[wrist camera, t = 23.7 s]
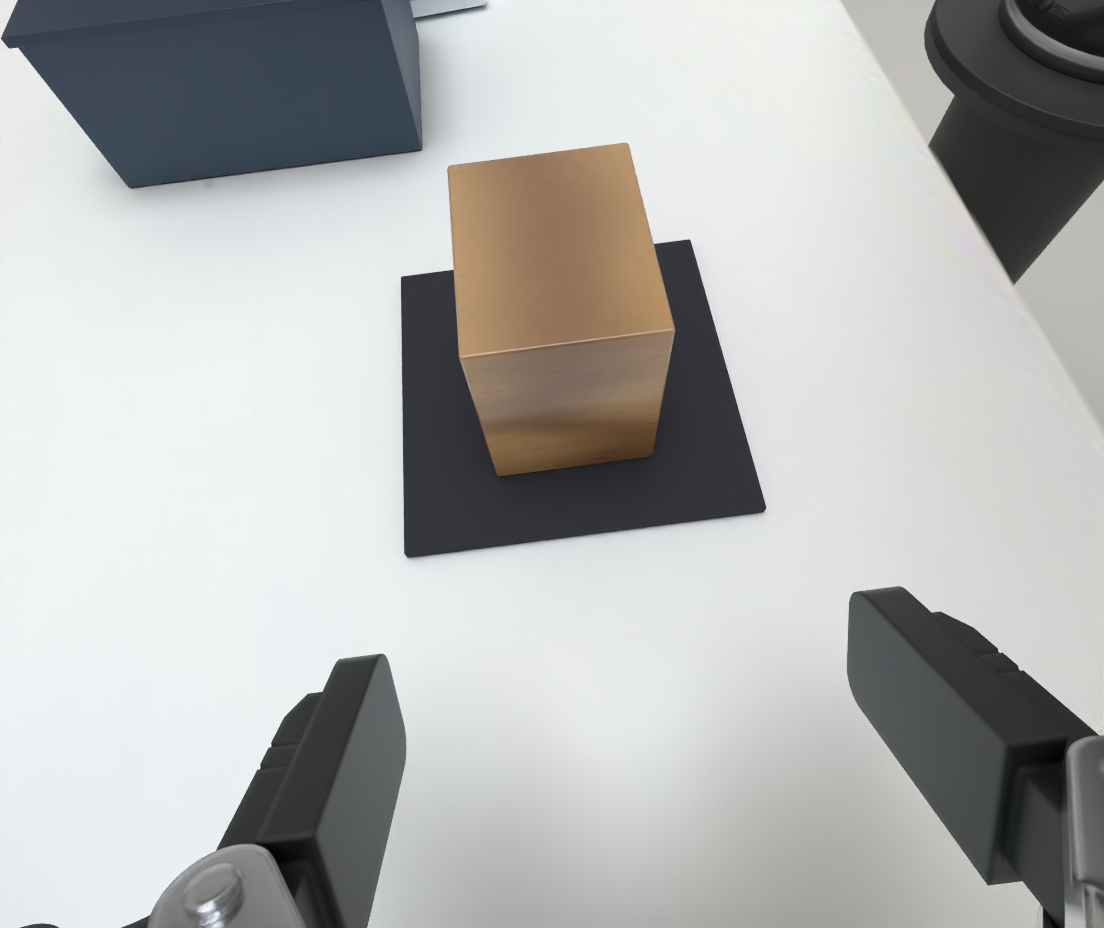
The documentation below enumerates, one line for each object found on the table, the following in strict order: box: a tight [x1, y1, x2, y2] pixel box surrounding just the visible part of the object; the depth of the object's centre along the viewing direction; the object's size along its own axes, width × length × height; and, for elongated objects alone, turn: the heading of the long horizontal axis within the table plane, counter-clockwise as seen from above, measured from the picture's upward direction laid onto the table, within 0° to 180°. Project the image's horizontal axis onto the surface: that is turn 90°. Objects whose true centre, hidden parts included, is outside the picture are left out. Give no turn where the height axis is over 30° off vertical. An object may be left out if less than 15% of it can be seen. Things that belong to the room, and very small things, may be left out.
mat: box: [401, 240, 766, 557], centre depth 24 cm, size 12×12×1 cm
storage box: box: [1, 0, 422, 188], centre depth 29 cm, size 14×9×7 cm, turn 96°
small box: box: [448, 143, 675, 476], centre depth 20 cm, size 5×7×7 cm
